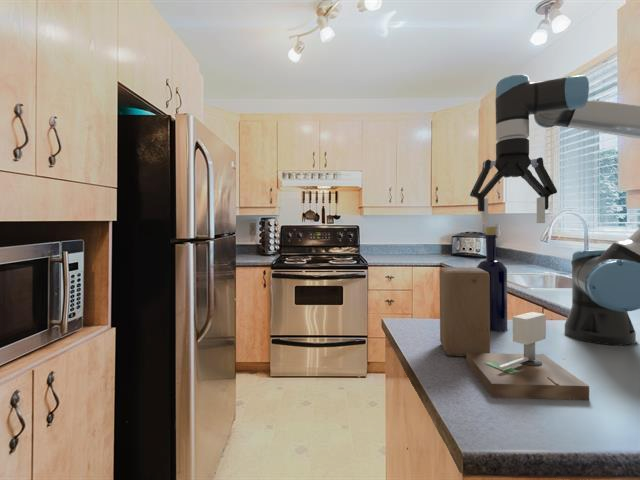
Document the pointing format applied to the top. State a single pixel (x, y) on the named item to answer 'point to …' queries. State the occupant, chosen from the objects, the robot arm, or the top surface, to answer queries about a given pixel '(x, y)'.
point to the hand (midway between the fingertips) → (512, 223)
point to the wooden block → (464, 310)
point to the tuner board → (526, 377)
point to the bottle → (495, 283)
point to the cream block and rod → (527, 335)
